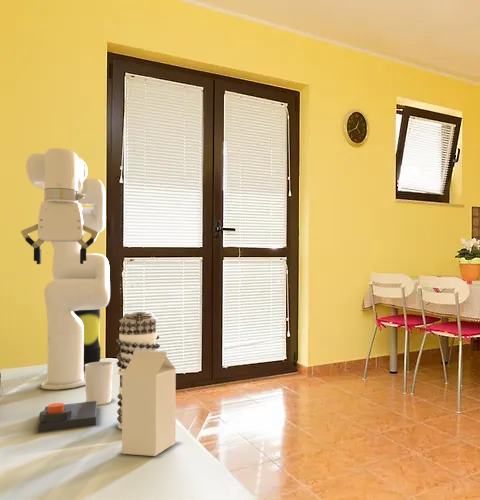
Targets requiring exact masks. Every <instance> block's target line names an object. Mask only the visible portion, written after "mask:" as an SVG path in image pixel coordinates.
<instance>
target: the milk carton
mask: <svg viewBox="0 0 480 500" xmlns="http://www.w3.org/2000/svg"><path fill="white" fill-rule="evenodd" d="M176 368H177V367H175V365H173V363H172V362H171V361H170V359H169V358H168V357H167V351H164V350H163V351H161V350H156V351H133V357H132V359H131V361H130V362H129V364H128V366H127V368H126V369H125V371H124V373H123V374H122V429H121V454H123V455H136V456H150V457H157V456H158V455H159V454H161V453H163V452H164V451H165V450H167V449H169V448H170V447H172V446H173V445H175V444H176V441H177V438H176V434H177V433H176V431H177V429H176V426H177V423H176V421H177V419H176V418H177V417H176V416H177V415H176V412H177V410H176V409H177V408H176V405H177V404H176V402H177V401H176V400H177V399H176V398H177V395H176V394H177V393H176V392H177V391H176V390H177V389H176V387H177V385H176V384H177V383H176V381H177V379H176V377H177V375H176V374H177V371H176Z"/></svg>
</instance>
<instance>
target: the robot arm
mask: <svg viewBox="0 0 480 500" xmlns="http://www.w3.org/2000/svg"><path fill="white" fill-rule="evenodd" d="M25 169H26V175H27V178H28V180H29V182H30V183H31V185H32V186H33V187H35V188H37V189H39V190H43V198H44V199H43V201H41V203H40V206H39V211H38V217H37V219H38V220H37V223H36V224H33V225H31V226H29V227H27V228H24V229H22V230H21V231H20V233H21V235H22V237H23V239H24V240H25V242H26V243H27V244H28V245H29V246H31V247H32V248H33V262H36V265H41V264H42V248H41V246H42V245H43V244H44V243H45V242H51V245H52V248H53V255H52V256H53V257H52V269H51V272H52V277H53V279H54V280H51V281H49V282H48V283H47V284H46V285H45V287H44V291H43V297H44V304H45V309H46V319H47V321H46V323H47V324H46V325H47V331H46V332H47V333H46V334H47V336H46V337H47V338H46V339H47V345H46V346H47V347H46V348H47V349H46V351H47V352H46V356H47V359H46V380H44V381H42V382H41V383H40V388H41V389H44V390H50V391H51V390H52V391H53V390H67V389H74V388H79V387H82V386H86V383H85V376H84V372H85V371H84V326H83V323H82V321H81V320H80V318H79V317H78V316H77V315H75V313H74V311H78V310H95V309H100V310H103V309H105V308H107V306H108V305H109V303H110V301H111V300H110V299H111V281H110V280H111V279H110V275H111V274H110V264H109V263H110V262H109V260H108V258H107V257H106V256H105V255H104V254H100V253H87V249H88V248H89V247H90V246H91V245H93V244H94V242H95V241H96V239H97V237H98V235H99V233H101V232H102V231H104V230H105V227H106V222H107V221H106V219H107V216H106V215H107V214H106V208H107V207H106V204H107V203H106V190H105V185H104V184H103V182H102V181H101V180H100V179H97V178H87V177H88V165H87V163H86V162H85V161H84V160H83V158H82V157H80V156H79V155H78V154H77V152H75V151H74V150H71V149H67V148H54V147H53V148H48V149H46V151H45V153H36V152H35V153H32V154H30V155H29V156H28V158H27V159H26V163H25ZM82 205H84V206H82ZM85 206H87V207H85ZM88 206H93V207H88ZM33 232H34V233H35V232H37V238H38V239H36V241H35V240H34V239H33V238H31V236H30V234H31V233H33ZM84 233H87V234H90V235H91V236H90V238H89V239H88V240H87V241H84V240H83V239H84Z"/></svg>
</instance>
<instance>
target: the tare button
mask: <svg viewBox="0 0 480 500" xmlns="http://www.w3.org/2000/svg"><path fill="white" fill-rule="evenodd" d="M64 405H65V403H63V402H55V403H50V404H48V405H47V406H48V414H54V413H60V412H64Z"/></svg>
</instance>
